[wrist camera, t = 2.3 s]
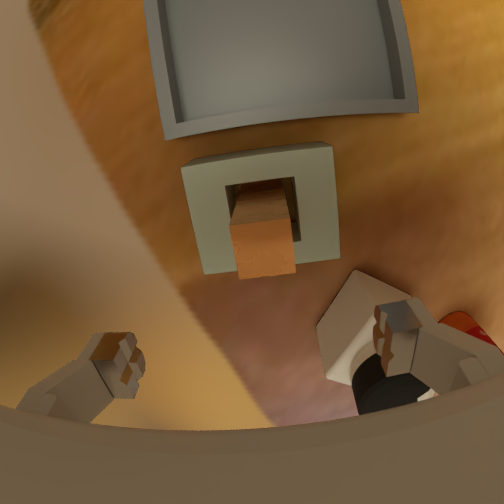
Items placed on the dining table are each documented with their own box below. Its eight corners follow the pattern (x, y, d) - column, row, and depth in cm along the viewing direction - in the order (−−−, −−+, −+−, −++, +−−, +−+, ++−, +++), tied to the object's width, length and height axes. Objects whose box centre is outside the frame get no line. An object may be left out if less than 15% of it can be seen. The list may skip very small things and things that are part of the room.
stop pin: (280, 177, 25) (290, 218, 16) (285, 213, 26) (296, 272, 17) (242, 182, 25) (228, 226, 16) (248, 218, 26) (239, 279, 17)
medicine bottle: (314, 326, 30) (331, 427, 19) (353, 266, 28) (397, 359, 17) (370, 347, 31) (402, 439, 20) (410, 294, 29) (464, 380, 18)
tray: (372, -40, 16) (383, -54, 13) (402, 111, 22) (418, 113, 19) (152, -17, 18) (140, -30, 15) (176, 137, 24) (165, 140, 21)
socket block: (321, 141, 23) (332, 146, 20) (330, 237, 27) (340, 258, 23) (193, 159, 24) (180, 167, 21) (212, 252, 28) (204, 274, 24)
